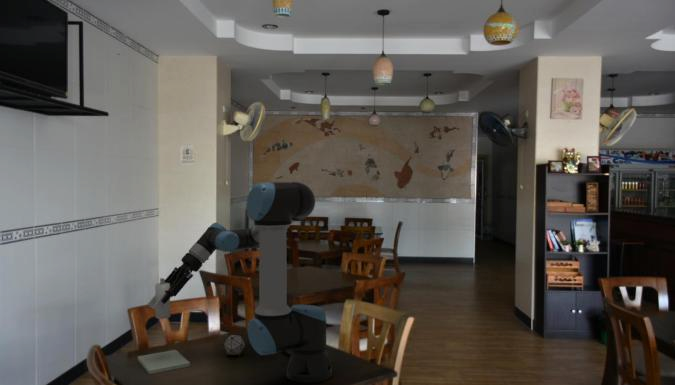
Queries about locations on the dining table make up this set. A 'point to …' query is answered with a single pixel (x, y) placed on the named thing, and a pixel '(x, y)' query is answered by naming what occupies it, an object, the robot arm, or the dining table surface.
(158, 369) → the sage board
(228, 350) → the game die
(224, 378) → the dining table surface
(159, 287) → the grey bottle
